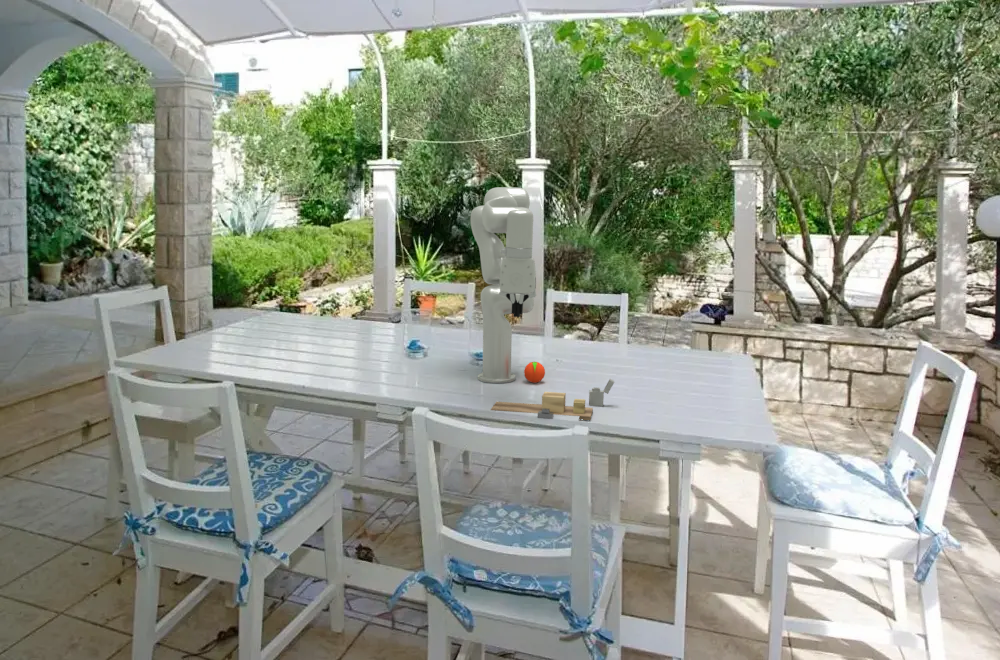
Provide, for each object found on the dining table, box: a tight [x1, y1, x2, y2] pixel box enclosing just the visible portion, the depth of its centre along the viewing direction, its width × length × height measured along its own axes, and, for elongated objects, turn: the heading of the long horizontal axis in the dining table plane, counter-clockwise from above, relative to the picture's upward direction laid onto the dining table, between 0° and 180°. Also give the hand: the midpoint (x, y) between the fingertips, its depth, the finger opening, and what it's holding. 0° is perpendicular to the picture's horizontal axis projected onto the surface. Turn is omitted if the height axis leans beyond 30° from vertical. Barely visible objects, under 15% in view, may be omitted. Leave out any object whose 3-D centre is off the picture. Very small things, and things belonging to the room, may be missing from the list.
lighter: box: [588, 378, 615, 407], centre depth 218 cm, size 7×2×8 cm, turn 86°
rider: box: [541, 391, 567, 413], centre depth 209 cm, size 5×6×4 cm
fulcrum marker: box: [537, 408, 554, 420], centre depth 202 cm, size 2×4×3 cm, turn 79°
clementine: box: [523, 361, 546, 384], centre depth 244 cm, size 8×7×7 cm
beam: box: [490, 398, 594, 421], centre depth 210 cm, size 12×28×4 cm, turn 79°
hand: (517, 316), depth 216 cm, fingers closed
